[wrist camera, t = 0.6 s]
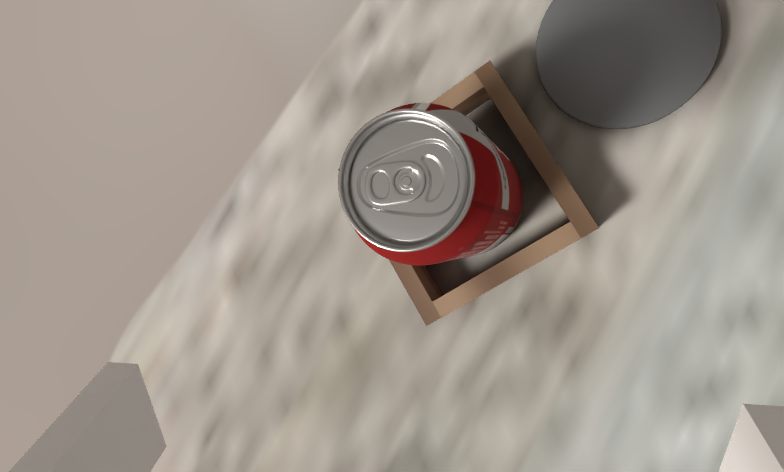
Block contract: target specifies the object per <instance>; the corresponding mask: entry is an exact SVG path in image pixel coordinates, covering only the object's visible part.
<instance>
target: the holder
mask: <svg viewBox="0 0 784 472" xmlns="http://www.w3.org/2000/svg"><path fill="white" fill-rule="evenodd" d="M490 98H491V99H492V100H493V102H494V103H495V105H496V107H497V108H498V110H499V111H500V113H501V114H502V116H503V117H504V119H505V121H506V122H507V124H508V125H509V127H510V128H511V130H512V132H513V133H514V135H515V136H516V138H517V139H518V141H519V142H520V144H521V146H522V147H523V149H524V150H525V152H526V153H527V155H528V156H529V158H530V160H531V161H532V163H533V164H534V166H535V167H536V169H537V170H538V172H539V174H540V175H541V177H542V178H543V180H544V181H545V183H546V184H547V186H548V188H549V189H550V191H551V192H552V194H553V195H554V197H555V198H556V200H557V202H558V203H559V205H560V206H561V208H562V209H563V211H564V212H565V214H566V216H567V217H568V219H569V220H570V222H569V223H567V224H565V225H564V226H562V227H560V228H558V229H557V230H555V231H553V232H552V233H550V234H548V235H546V236H545V237H543V238H541V239H540V240H538V241H536V242H534V243H533V244H531V245H529V246H527V247H526V248H524V249H522V250H521V251H519V252H517V253H515V254H514V255H512V256H510V257H509V258H507V259H505V260H503V261H502V262H500V263H498V264H496V265H495V266H493V267H491V268H490V269H488V270H486V271H484V272H483V273H481V274H479V275H478V276H476V277H474V278H472V279H471V280H469V281H467V282H466V283H464V284H462V285H460V286H459V287H457V288H455V289H453V290H452V291H450V292H448V293H447V294H445V295H442V294H441V292H440V290H439V289H438V287H437V285H436V283H435V282H434V280H433V278H432V276H431V275H430V273H429V271H428V269H427V268H426V266H425V265H420V266H416V265H407V264H401V263H398V262H394V261H392V260H390V262H391V264H392V266H393V267H394V269H395V271H396V273H397V275H398V276H399V278H400V280H401V282H402V283H403V285H404V287H405V289H406V290H407V292H408V294H409V296H410V298H411V299H412V301H413V303H414V305H415V306H416V308H417V310H418V312H419V313H420V315H421V317H422V319H423V321H424V322H425V324H426V326H427V325H429V324H431V323H432V322H434V321H436V320H438V319H439V318H441V317H443V316H445V315H447V314H448V313H450V312H452V311H454V310H455V309H457V308H459V307H461V306H462V305H464V304H466V303H468V302H469V301H471V300H473V299H475V298H477V297H478V296H480V295H482V294H484V293H485V292H487V291H489V290H491V289H492V288H494V287H496V286H498V285H499V284H501V283H503V282H505V281H506V280H508V279H510V278H512V277H514V276H515V275H517V274H519V273H521V272H522V271H524V270H526V269H528V268H529V267H531V266H533V265H535V264H536V263H538V262H540V261H542V260H544V259H545V258H547V257H549V256H551V255H552V254H554V253H556V252H558V251H559V250H561V249H563V248H565V247H566V246H568V245H570V244H572V243H573V242H575V241H577V240H579V239H581V238H582V237H584V236H586V235H588V234H589V233H591V232H593V231H595V230H596V229H598V228H599V227H598V226H597V224H596V223H595V221H594V220H593V218H592V216H591V215H590V213H589V212H588V210H587V209H586V207H585V206H584V204H583V203H582V201H581V200H580V198H579V197H578V195H577V193H576V192H575V190H574V189H573V187H572V186H571V184H570V183H569V181H568V180H567V178H566V177H565V175H564V173H563V172H562V170H561V169H560V167H559V166H558V164H557V163H556V161H555V160H554V158H553V157H552V155H551V154H550V152H549V150H548V149H547V147H546V146H545V144H544V143H543V141H542V140H541V138H540V137H539V135H538V134H537V132H536V131H535V129H534V127H533V126H532V124H531V123H530V121H529V120H528V118H527V117H526V115H525V114H524V112H523V111H522V109H521V108H520V106H519V104H518V103H517V101H516V100H515V98H514V97H513V95H512V94H511V92H510V91H509V89H508V88H507V86H506V84H505V83H504V81H503V80H502V78H501V77H500V75H499V74H498V72H497V71H496V69H495V68H494V66H493V65H492V63H491V61H489V62H487V63H486V64H484V65H483V66H482V67H480V68H479V69H478V70H476V71H475V72H473V73H472V74H471V75H469V76H468V77H466V78H465V79H464V80H462V81H461V82H459V83H458V84H457V85H455V86H454V87H452V88H451V89H450V90H448V91H447V92H445V93H444V94H443V95H441V96H440V97H438V98H437V99H436V100H434V101H433V102H432V103H433V104H438V105H442V106H446V107H449V108H451V109H454V110H456V111H458V112H460V113H462V114H463V115H464V116H466V115H467V114H468V113H470V112H471V111H473V110H474V109H476V108H477V107H479V106H480V105H481V104H483V103H484V102H486V101H487V100H489V99H490ZM338 170H339V169H338Z"/></svg>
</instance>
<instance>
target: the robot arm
mask: <svg viewBox="0 0 784 472" xmlns="http://www.w3.org/2000/svg"><path fill="white" fill-rule="evenodd" d="M165 448H166V444H165V441H164V438H163V435H162V432H161V429H160V426H159V423H158V421H157V418H156V415H155V412H154V409H153V406H152V403H151V400H150V398H149V395H148V392H147V389H146V386H145V383H144V380H143V377H142V375H141V372H140V369H139V366H138V364H127V363H112V362H108V363H107V364H106V365H105V366H104V367H103V369H102V370H101V371H100V372H99V373H98V374H97V375H96V376H95V377H94V378H93V380H92V381H91V382H90V383H89V384H88V385H87V386H86V387H85V389H84V390H83V391H82V392H81V393H80V394H79V395H78V396H77V397H76V398H75V400H73V402H72V403H71V404H70V405H69V406H68V407H67V408H66V410H64V412H63V413H62V414H61V415H60V416H59V417H58V418H57V419H56V420H55V421H54V423H53V424H52V425H51V426H50V427H49V428H48V429H47V430H46V431H45V433H44V434H43V435H42V436H41V437H40V438H39V439H38V440H37V441H36V442H35V444H34V445H33V446H32V447H31V448H30V449H29V450H28V451H27V452H26V453H25V455H24V456H23V457H22V458H21V459H20V460H19V461H18V462H17V463H16V464H15V466H14V467H13V468H12V469H11V470H10V471H9V472H150V471H151V470H152V468H153V467H154V465H155V463H156V462H157V460H158V459H159V457H160V456H161V454H162V452H163V451H164V449H165ZM719 472H784V407H782V406H767V405H752V404H743V406H742V409H741V412H740V414H739V417H738V420H737V423H736V425H735V428H734V431H733V434H732V436H731V439H730V442H729V445H728V447H727V450H726V453H725V456H724V458H723V461H722V464H721V467H720V469H719Z"/></svg>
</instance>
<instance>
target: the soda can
mask: <svg viewBox="0 0 784 472" xmlns="http://www.w3.org/2000/svg"><path fill="white" fill-rule="evenodd" d="M338 190H339V197H340V201H341V205H342V208H343V210H344V213H345V215H346V217H347V219H348V220H349V222H350V223H351V225H352V226H353V227H354V229H355V231H356V232H357V234H358V235H359V236H360V238H361V239H362V240H363V241H364V242H365V243H366V244H367V245H368V246H369V247H370V248H371V249H373V250H374V251H375V252H377V253H378V254H380V255H381V256H383V257H385V258H387V259H389V260H392V261H394V262H398V263H401V264H407V265H416V266H420V265H431V264H437V263H441V262H446V261H450V260H455V259H459V258H464V257H469V256H473V255H478V254H481V253H484V252H487V251H489V250H491V249H493V248H495V247H496V246H498V245H499V244H501V243H502V242H503V241H504V240H505V239H506V238H507V237H508V236H509V235H510V234H511V232H512V231H513V230H514V228H515V226H516V225H517V222H518V220H519V218H520V215H521V212H522V207H523V187H522V182H521V179H520V176H519V173H518V171H517V169H516V168H515V166H514V164H513V163H512V162H511V160H510V159H509V158H508V157H507V156H506V155H505V154H504V153H503V152H502V151H501V150H500V149H499V148H498V147H497V146H496V145H495V144H494V143H493V142H492V141H491V140H490V139H489V138H488V137H487V136H486V135H485V134H484V133H483V132H482V130H481V129H480V128H479V127H478V126H477V125H476V124H475V123H474V122H472V121H471V120H470V119H469V118H467V117H466V116H464V115H463V114H462V113H460V112H458V111H456V110H454V109H451V108H449V107H446V106H442V105H438V104H433V103H414V104H408V105H404V106H400V107H397V108H394V109H392V110H390V111H388V112H386V113H383V114H381V115H379V116H377V117H375V118H374V119H372V120H370V121H369V122H368V123H366V124H365V125H364V126H363V127H362V128H361V129H360V130H359V131H358V132H357V133H356V134H355V135H354V137H353V138H352V139H351V141H350V143H349V144H348V146H347V148H346V150H345V152H344V155H343V157H342V160H341V164H340V168H339V175H338Z"/></svg>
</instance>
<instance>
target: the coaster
mask: <svg viewBox="0 0 784 472" xmlns="http://www.w3.org/2000/svg"><path fill="white" fill-rule="evenodd" d="M721 30H722V28H721V18H720V14H719V10H718V6H717V4H716V1H715V0H553V1H552V3H551V5H550V6H549V8H548V10H547V11H546V13H545V16H544V18H543V20H542V22H541V25H540V29H539V32H538V37H537V43H536V60H537V67H538V71H539V75H540V78H541V81H542V83H543V86H544V88H545V90H546V91H547V93H548V95H549V96H550V98H551V99H552V100H553V101H554V103H555V104H556V105H557V106H558V107H559V108H560V109H561V110H562V111H564V112H565V113H567V114H568V115H569V116H571V117H573V118H574V119H576V120H578V121H580V122H583V123H585V124H588V125H591V126H595V127H600V128H608V129H626V128H633V127H639V126H642V125H646V124H649V123H652V122H654V121H657V120H660V119H662V118H663V117H665V116H667V115H669V114H671V113H672V112H674V111H675V110H677V109H678V108H680V107H681V106H682V105H683V104H684V103H686V102H687V101H688V100H689V99H690V98H691V97H692V96H693V95H694V94H695V93H696V91H697V90H698V89H699V88H700V87H701V86H702V84H703V83H704V81H705V80H706V78H707V77H708V75H709V74H710V72H711V70H712V68H713V66H714V64H715V61H716V58H717V55H718V52H719V48H720V43H721Z"/></svg>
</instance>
